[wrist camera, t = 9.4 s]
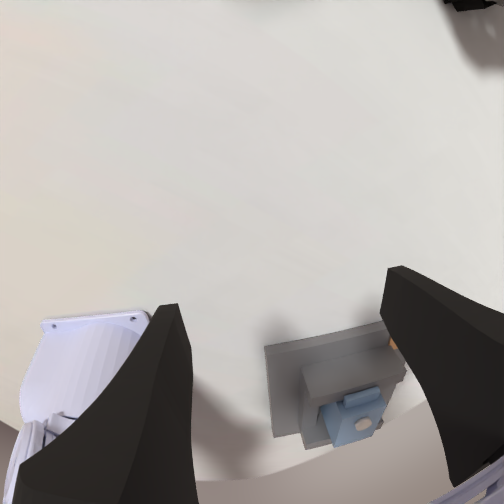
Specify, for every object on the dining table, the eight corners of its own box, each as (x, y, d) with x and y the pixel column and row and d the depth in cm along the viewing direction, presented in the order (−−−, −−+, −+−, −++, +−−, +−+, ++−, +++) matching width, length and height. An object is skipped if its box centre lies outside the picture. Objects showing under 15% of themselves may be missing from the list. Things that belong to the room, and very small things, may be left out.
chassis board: (272, 430, 31) (279, 462, 27) (264, 346, 24) (274, 389, 20) (383, 402, 32) (396, 429, 28) (414, 311, 25) (439, 343, 21)
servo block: (319, 413, 29) (333, 457, 24) (325, 366, 25) (346, 418, 20) (353, 404, 29) (371, 445, 24) (367, 355, 25) (393, 403, 20)
